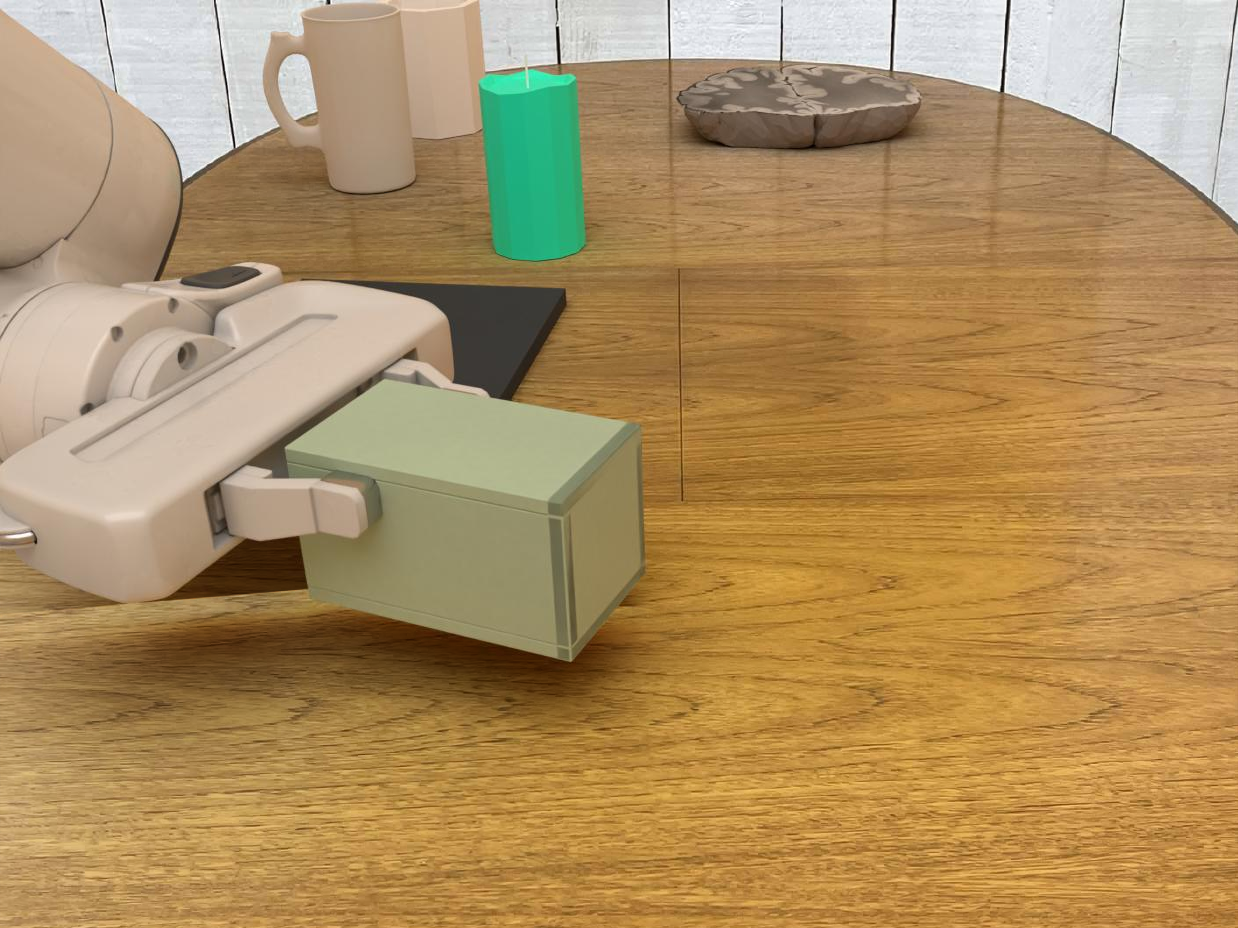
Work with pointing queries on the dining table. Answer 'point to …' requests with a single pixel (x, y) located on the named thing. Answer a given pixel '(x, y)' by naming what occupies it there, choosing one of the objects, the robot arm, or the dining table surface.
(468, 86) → the mug
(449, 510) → the green box
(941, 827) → the dining table surface
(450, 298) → the mat
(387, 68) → the mug
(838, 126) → the brain slice
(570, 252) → the candle
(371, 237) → the dining table surface
